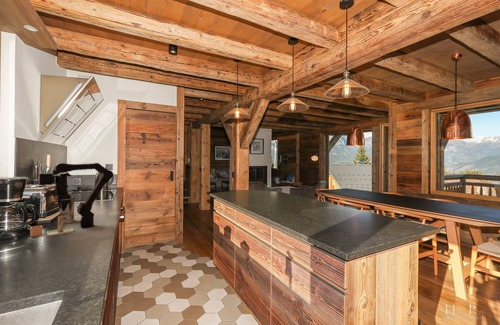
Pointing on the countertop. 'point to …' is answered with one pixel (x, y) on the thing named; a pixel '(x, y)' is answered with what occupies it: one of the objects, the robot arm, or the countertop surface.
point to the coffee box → (68, 212)
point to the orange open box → (36, 231)
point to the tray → (65, 230)
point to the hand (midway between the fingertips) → (62, 209)
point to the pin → (60, 224)
